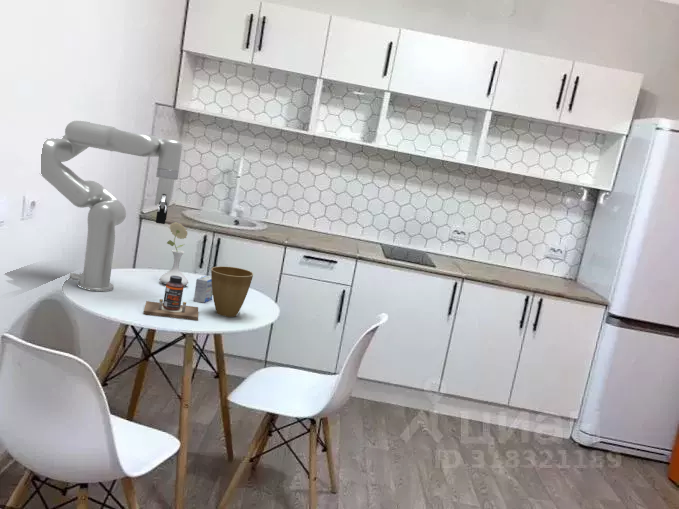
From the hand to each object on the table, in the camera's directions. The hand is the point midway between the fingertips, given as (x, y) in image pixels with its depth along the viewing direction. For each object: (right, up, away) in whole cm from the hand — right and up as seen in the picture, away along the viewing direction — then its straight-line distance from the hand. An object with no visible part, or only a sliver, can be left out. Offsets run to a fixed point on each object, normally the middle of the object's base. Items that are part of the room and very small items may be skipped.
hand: (160, 221), depth 247 cm
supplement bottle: (+6, -31, -10) cm, 33 cm away
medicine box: (+12, -29, +14) cm, 35 cm away
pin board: (+6, -32, -10) cm, 34 cm away
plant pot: (+23, -33, 0) cm, 41 cm away
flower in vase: (-3, -24, +30) cm, 39 cm away
